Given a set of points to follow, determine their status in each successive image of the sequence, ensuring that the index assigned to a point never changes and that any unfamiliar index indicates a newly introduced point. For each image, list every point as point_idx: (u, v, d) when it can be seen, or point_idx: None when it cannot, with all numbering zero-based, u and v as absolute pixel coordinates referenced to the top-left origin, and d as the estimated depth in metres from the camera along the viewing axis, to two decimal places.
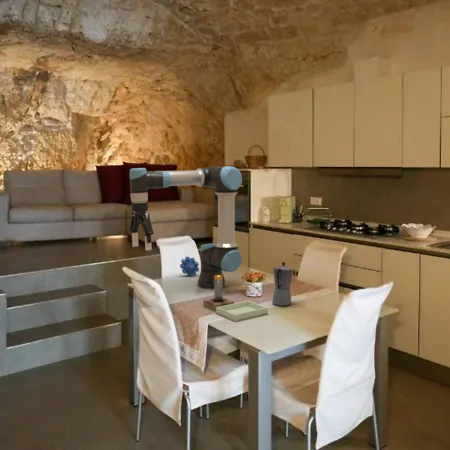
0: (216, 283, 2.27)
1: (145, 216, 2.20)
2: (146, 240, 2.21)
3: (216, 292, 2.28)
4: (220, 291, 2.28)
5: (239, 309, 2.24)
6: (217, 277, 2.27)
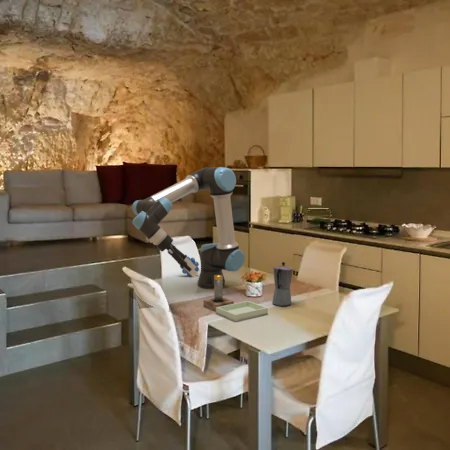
0: (216, 283, 2.27)
1: (170, 253, 2.18)
2: (187, 270, 2.19)
3: (216, 292, 2.28)
4: (220, 291, 2.28)
5: (239, 309, 2.24)
6: (217, 277, 2.27)
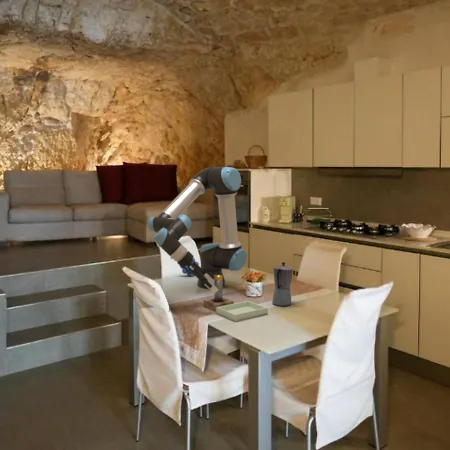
0: (216, 283, 2.27)
1: (191, 269, 2.19)
2: (207, 286, 2.20)
3: (216, 292, 2.28)
4: (220, 291, 2.28)
5: (239, 309, 2.24)
6: (217, 277, 2.27)
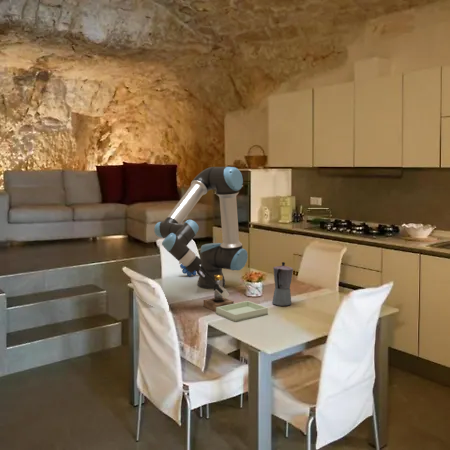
0: None
1: (202, 277, 2.21)
2: (218, 292, 2.27)
3: (216, 292, 2.28)
4: None
5: (239, 309, 2.24)
6: (217, 277, 2.27)
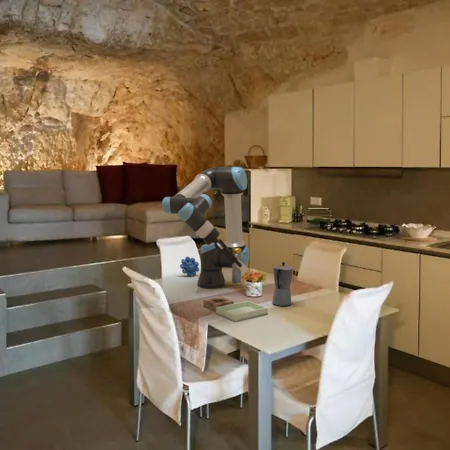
0: None
1: (220, 249, 2.10)
2: (237, 265, 2.15)
3: (234, 266, 2.16)
4: None
5: (239, 309, 2.24)
6: (235, 250, 2.15)
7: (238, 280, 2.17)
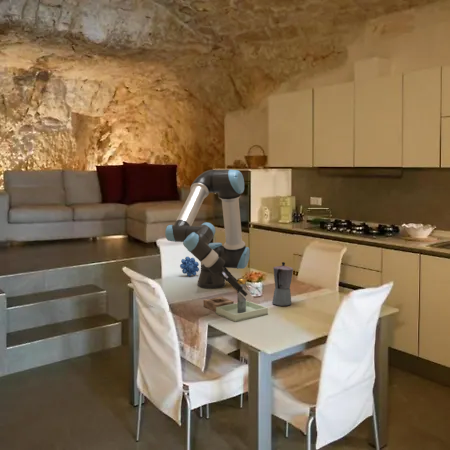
0: None
1: (225, 278, 2.10)
2: (242, 294, 2.14)
3: (239, 296, 2.17)
4: None
5: None
6: (240, 281, 2.16)
7: (243, 310, 2.18)
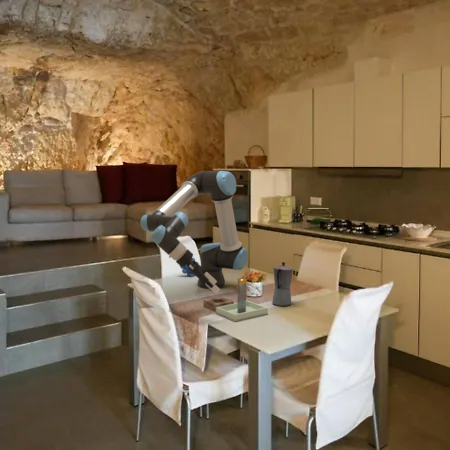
0: (239, 288, 2.16)
1: (190, 268, 2.08)
2: (208, 286, 2.09)
3: (239, 297, 2.17)
4: (244, 296, 2.17)
5: None
6: (241, 281, 2.16)
7: (243, 310, 2.18)
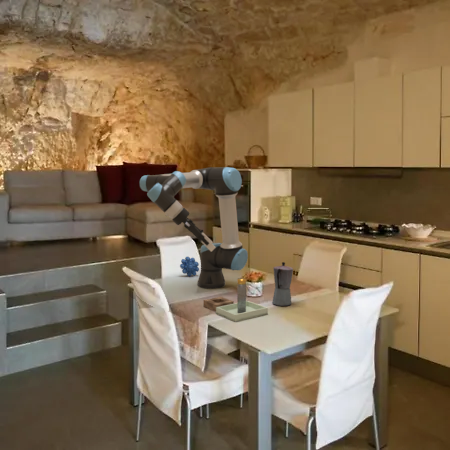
0: (239, 288, 2.16)
1: (186, 226, 2.09)
2: (204, 244, 2.10)
3: (239, 297, 2.17)
4: (244, 295, 2.17)
5: None
6: (240, 281, 2.16)
7: (243, 310, 2.17)
